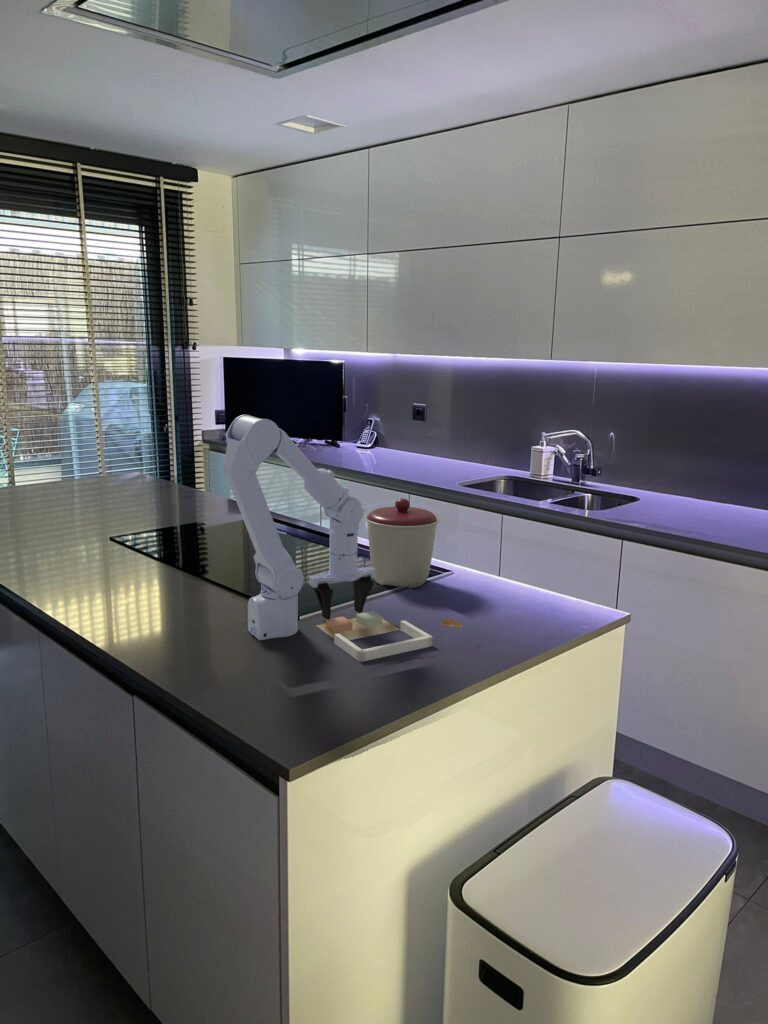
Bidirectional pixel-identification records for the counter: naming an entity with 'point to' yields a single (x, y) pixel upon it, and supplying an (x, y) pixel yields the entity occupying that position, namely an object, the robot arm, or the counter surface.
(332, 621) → the terracotta tile
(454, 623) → the shard
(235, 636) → the counter surface
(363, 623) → the sage tile
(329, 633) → the maple board
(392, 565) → the canister
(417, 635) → the tray
